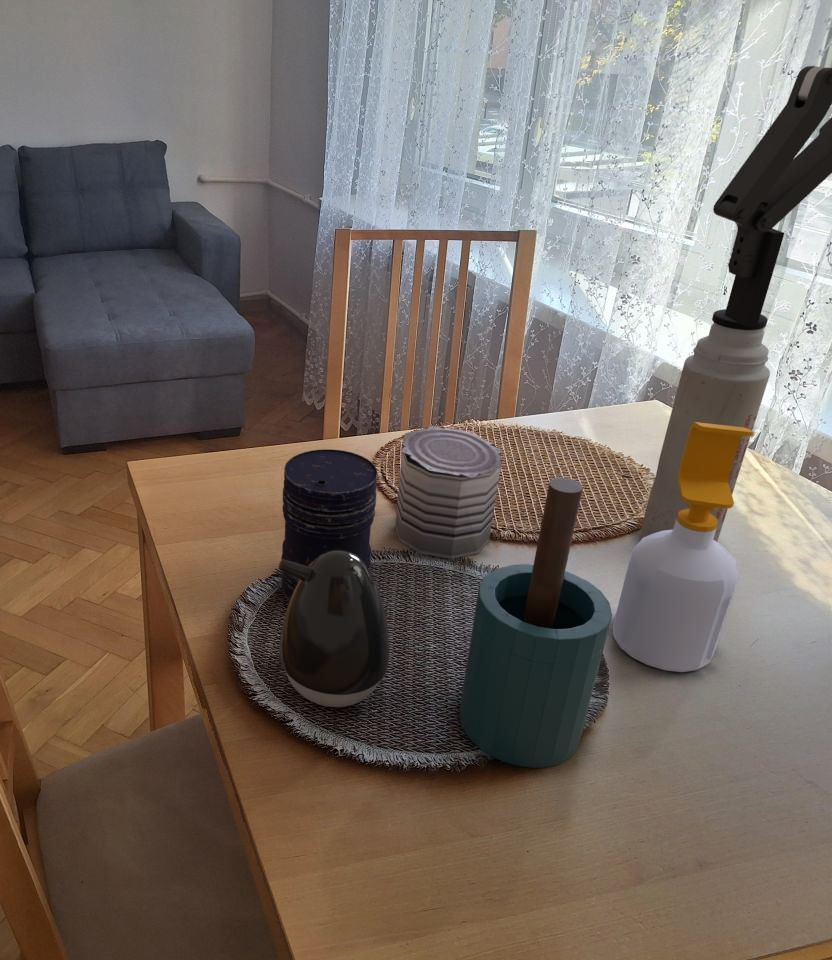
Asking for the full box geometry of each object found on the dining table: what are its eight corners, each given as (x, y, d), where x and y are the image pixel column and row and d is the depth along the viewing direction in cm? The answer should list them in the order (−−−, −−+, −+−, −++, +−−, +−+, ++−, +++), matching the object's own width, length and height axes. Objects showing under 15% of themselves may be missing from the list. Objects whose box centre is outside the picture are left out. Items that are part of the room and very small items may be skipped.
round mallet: (536, 696, 79) (585, 467, 68) (559, 738, 75) (615, 500, 63) (480, 698, 79) (519, 470, 68) (499, 740, 75) (545, 503, 63)
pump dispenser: (277, 649, 88) (279, 522, 80) (380, 653, 86) (392, 525, 79) (275, 721, 79) (278, 586, 71) (390, 727, 78) (405, 591, 70)
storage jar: (298, 554, 102) (301, 442, 95) (379, 573, 99) (389, 458, 91) (267, 600, 95) (268, 482, 87) (354, 623, 91) (363, 501, 84)
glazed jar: (552, 683, 82) (579, 561, 75) (599, 765, 73) (634, 636, 66) (445, 687, 82) (463, 566, 75) (480, 770, 73) (503, 642, 66)
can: (438, 500, 112) (448, 417, 107) (509, 538, 104) (525, 450, 98) (374, 528, 107) (381, 442, 101) (444, 570, 99) (456, 479, 93)
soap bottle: (613, 662, 84) (672, 437, 72) (610, 608, 91) (664, 396, 80) (717, 683, 81) (797, 452, 69) (705, 626, 88) (776, 408, 77)
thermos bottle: (725, 542, 102) (798, 313, 88) (697, 569, 97) (770, 332, 84) (657, 517, 107) (716, 298, 94) (627, 541, 103) (685, 314, 89)
